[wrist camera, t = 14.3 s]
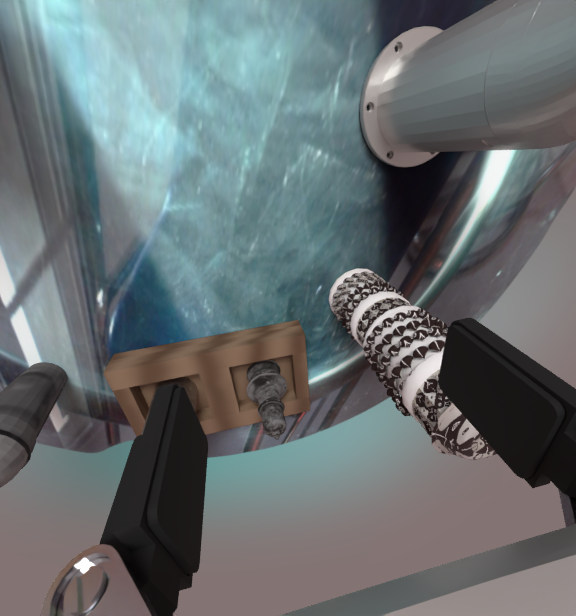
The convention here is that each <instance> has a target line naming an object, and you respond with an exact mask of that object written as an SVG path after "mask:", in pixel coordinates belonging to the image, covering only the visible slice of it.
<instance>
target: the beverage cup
mask: <svg viewBox="0 0 576 616" xmlns="http://www.w3.org/2000/svg"><path fill="white" fill-rule="evenodd" d="M66 381H67V375H66V372H65V371H64V370H63V369H62V368H61V367H59V366H57V365H55V364H52V363H37V364H34V365H32V366H31V367H30V368H29V369H28V370H26V371H25V372H24V373H22V374H21V375H20V376H18V377H17V378H16V379H15V380H14V381H13V382H12V383H11V384H9V385H8V386H7V387H6V388H5V389H4V390H3V391H1V392H0V487H2V486H3V485H5V484H7V483H8V482H9V481H10V480H12V479H13V478H14V477H15V476H16V475H17V474H18V472H19V471H20V470H21V469H22V468H23V467H24V466H25V465H26V464H27V462H28V461H29V460H30V457H31V453H32V451H33V449H34V446H35V443H36V439H37V437H38V435H39V433H40V431H41V429H42V427H43V425H44V424H45V422H46V420H47V418H48V416H49V414H50V412H51V410H52V409H53V407H54V405H55V403H56V401H57V399H58V397H59V395H60V393H61V392H62V390H63V387H64V384H65V382H66Z"/></svg>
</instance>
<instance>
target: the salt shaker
mask: <svg viewBox="0 0 576 616" xmlns="http://www.w3.org/2000/svg"><path fill="white" fill-rule="evenodd" d="M280 372H281V370H280V366H279V365H278V363H277V362H275V361H273V360H270V359H268V360H263V361H258V362H254V363H253V364H251V365H250V367H249V368H248V370H247V379H248V381H249V383H248V386H247V391H246V392H247V396H248V397H249V399H250V400H252V401H253V402H255V403H258V404H259V407H258V414H259V416H260V417H262V422H263V428H264V431H265V433H266V434H267V435H269V436H271V437H274V438H275V439H277V440H278V439H279V437H280V435H281V434H283V433H284V431H285V429H286V421H285V417H284V413H283V412H284V410H285V406H284V403H283V402H282V401H281V399H280V398H281V397H282V396H283V395H284V394H285V392H286V390H287V382H286V380H285V378H284V377H282V376H281V375H280Z"/></svg>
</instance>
